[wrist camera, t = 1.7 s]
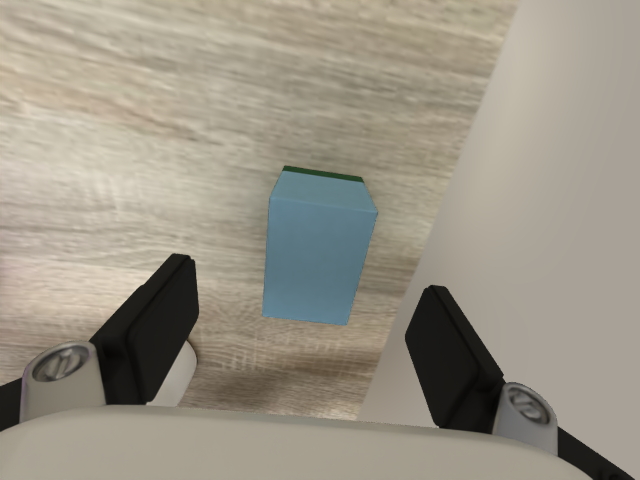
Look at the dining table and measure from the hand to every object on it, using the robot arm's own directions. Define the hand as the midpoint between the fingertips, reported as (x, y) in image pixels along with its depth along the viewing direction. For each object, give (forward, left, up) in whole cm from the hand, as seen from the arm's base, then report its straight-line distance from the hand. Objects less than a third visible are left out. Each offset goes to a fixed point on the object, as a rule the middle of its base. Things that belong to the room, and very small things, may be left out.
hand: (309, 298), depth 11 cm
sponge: (0, 0, -7) cm, 7 cm away
